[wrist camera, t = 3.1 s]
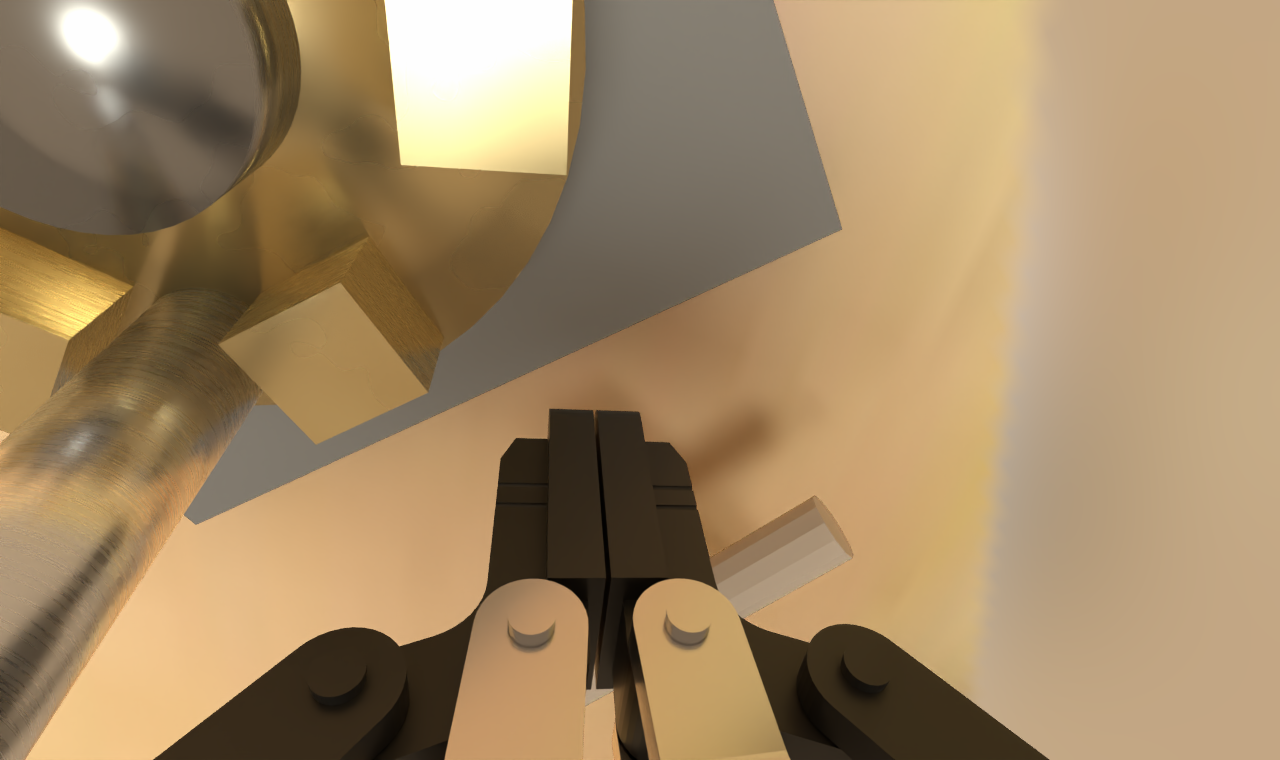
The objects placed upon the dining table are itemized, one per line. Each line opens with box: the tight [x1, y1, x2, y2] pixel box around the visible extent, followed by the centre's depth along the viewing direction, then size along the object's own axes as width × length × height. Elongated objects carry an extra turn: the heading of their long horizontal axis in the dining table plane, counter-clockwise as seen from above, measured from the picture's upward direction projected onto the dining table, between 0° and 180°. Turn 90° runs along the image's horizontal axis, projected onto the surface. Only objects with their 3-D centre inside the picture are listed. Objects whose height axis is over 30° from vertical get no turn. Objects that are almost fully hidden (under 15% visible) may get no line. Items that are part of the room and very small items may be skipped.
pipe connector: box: [585, 496, 853, 706], centre depth 19 cm, size 10×10×10 cm
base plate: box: [184, 0, 842, 525], centre depth 14 cm, size 20×20×2 cm
